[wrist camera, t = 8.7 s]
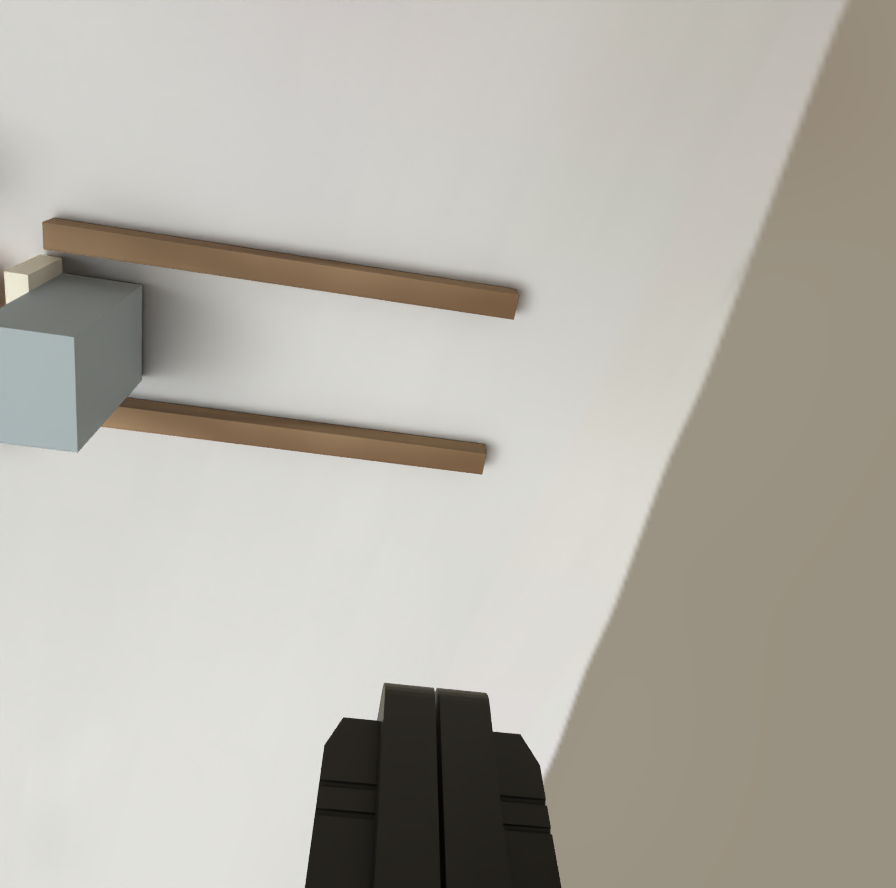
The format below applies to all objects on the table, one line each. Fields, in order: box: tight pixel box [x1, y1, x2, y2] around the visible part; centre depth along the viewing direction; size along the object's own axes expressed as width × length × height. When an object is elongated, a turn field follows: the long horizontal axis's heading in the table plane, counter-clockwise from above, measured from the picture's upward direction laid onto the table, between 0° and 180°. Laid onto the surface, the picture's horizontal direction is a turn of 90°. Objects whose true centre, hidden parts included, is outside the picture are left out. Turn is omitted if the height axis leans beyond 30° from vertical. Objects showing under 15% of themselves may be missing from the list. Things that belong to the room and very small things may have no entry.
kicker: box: [0, 255, 142, 453], centre depth 28 cm, size 5×4×7 cm
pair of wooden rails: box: [42, 218, 519, 474], centre depth 32 cm, size 8×18×1 cm, turn 81°
